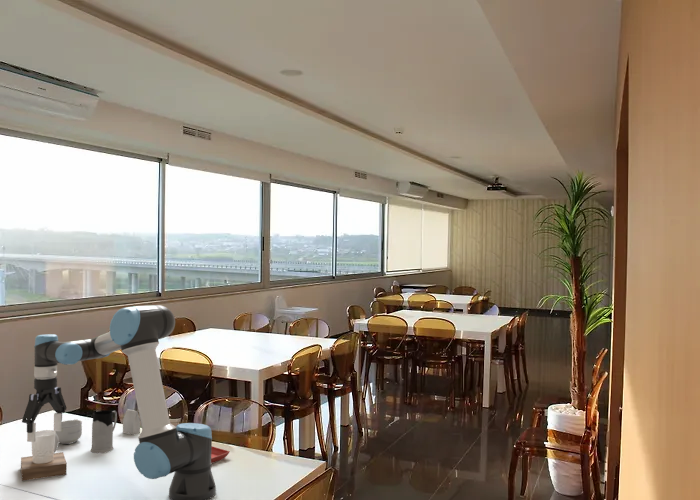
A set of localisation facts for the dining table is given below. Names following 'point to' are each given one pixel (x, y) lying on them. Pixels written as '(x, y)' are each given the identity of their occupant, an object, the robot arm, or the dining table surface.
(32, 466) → the walnut base
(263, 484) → the dining table surface
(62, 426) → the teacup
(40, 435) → the white cup
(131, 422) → the tea bag
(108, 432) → the gray pitcher
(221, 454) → the plant saucer
